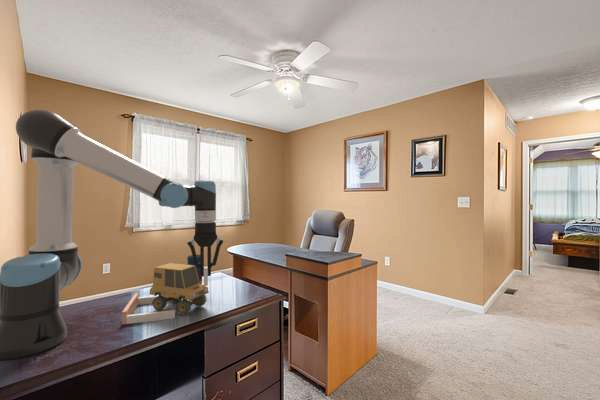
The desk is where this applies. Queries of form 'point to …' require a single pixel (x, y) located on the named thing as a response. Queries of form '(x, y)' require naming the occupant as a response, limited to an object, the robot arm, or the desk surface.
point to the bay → (143, 317)
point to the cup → (191, 262)
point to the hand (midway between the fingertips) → (205, 284)
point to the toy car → (177, 287)
